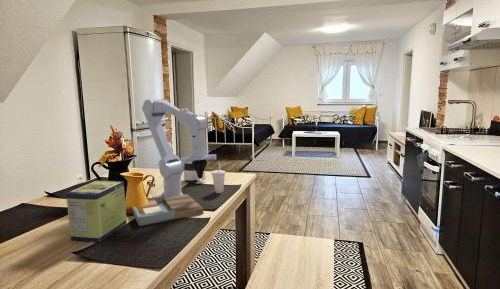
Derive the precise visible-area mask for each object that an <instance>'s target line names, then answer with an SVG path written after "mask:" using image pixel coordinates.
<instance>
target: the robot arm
mask: <svg viewBox="0 0 500 289" xmlns="http://www.w3.org/2000/svg"><path fill="white" fill-rule="evenodd" d="M142 104H143V105H142V108H141V110H142V112H143V114H144V118H145V120H146V122H147V126H148V128H149V131H150V133H151V136H152V138H153V141H154V143H155V146H156V148H157V151H158V153H159V155H160V157H161V158H160V160H159V161H158V162H157V165H158V167H159V173H160V175H161V176H162V178H163V191H162V192H161V194H162V196H163V198H167V197H174V196H180V195H184V193H183V192H182V175H183V174H184V163H186V162H192V164H193V166H194V168H195V170H196V173H197V177H198V178H199V179H201V178H202V177H203V172H204V173H205V169H206V167H207V164H208V161H212V160H217V154H216V153H215V154H207V144H206V143H207V142H206V141H207V140H206V139H207V138H206V129H207V128H208V126H209V121H208V118H206V116H204V115H199V116H198V114H197V113H196V112H195V113H194V112H191V111H190V109H189V108H178V107H177V106H175V105H174V104H172V103H170V102H169V101H168V100H166V99H164V98H161V99H145V100H144V101H143V103H142ZM166 114H169V115H172V116H174V117H176V120H177V121H178V122H179V123H181V124H182V125H185V126H186V127H187V128H188V129H189V134H190V136H191V140H190V141H191V155H190V156H185V157H181V158H180V157H179V156H178V155H176V154H174V151H173V150H172V148H171V145H170V143H169V140H168V137H167V135H166V132H165V131H164V128H163V125H162V123H161V121H162V120H163V119H164V117H165V115H166Z"/></svg>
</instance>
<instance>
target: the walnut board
mask: <svg viewBox="0 0 500 289" xmlns="http://www.w3.org/2000/svg"><path fill="white" fill-rule="evenodd" d="M163 200H164V203H165V205H166V206H167V207H168V209H169V210H170V211H173V210H175V216H176V219H177V220H178V219H183V218H188V217H192V216H198V215H202V214H204V207H203V206H201V204H199V203H198V202H197V201H196V200H195V199H194V198H193V197H192V196H190V195H189V194H188V193H187V194H186V193H185V194H183V195H180V196H174V197H167V198H165V197H163ZM176 219H175V220H176Z"/></svg>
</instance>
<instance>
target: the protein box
mask: <svg viewBox="0 0 500 289" xmlns="http://www.w3.org/2000/svg"><path fill="white" fill-rule="evenodd" d="M65 195H66V196H65V197H66V204H67V205H66V206H67V216H68V224H69V225H68V226H69V233H70V235H69V237H70V240H71V241H74V242H75V241H77V242H78V241H79V242H87V243H88V242H91V243H101V242H102V241H104V240H105V239H106V238H108V237H109V236H110V235H112V234H114V233H115V232H116V231H118V230H120V229H121V228H123V227H124V226H125V225H126V224H127V223H128V221H127V219H128V218H127V207H126V196H125V181H123V180H102V179H101V180H99V179H98V180H94V181H92V182H90V183H88V184H85V185H83V186H81V187H78V188H75V189H73V190H70V191H68V192H66V193H65ZM110 237H111V236H110Z"/></svg>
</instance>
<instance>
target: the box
mask: <svg viewBox="0 0 500 289" xmlns="http://www.w3.org/2000/svg"><path fill="white" fill-rule="evenodd" d="M163 198H164V196H163V195H161V196H154V197H147V198H146V199H148V200H155V201H156V202H157V204H158V206H159V207H160V208H161V209H162V211H163V212H162V213H156V214H151V215H145V216H143V213H142V212H139V211H138V209H137V207H133V211H134V214H133V216H134V218H135V220H136V222H137V224H138V225H137V226H138V227H141V226H146V225H151V224H156V223H163V222H167V221H173V220H176V216H175V210H173V211H170V210H169V209H168V207H167V206H166V205H165V203H164V200H163Z"/></svg>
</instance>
